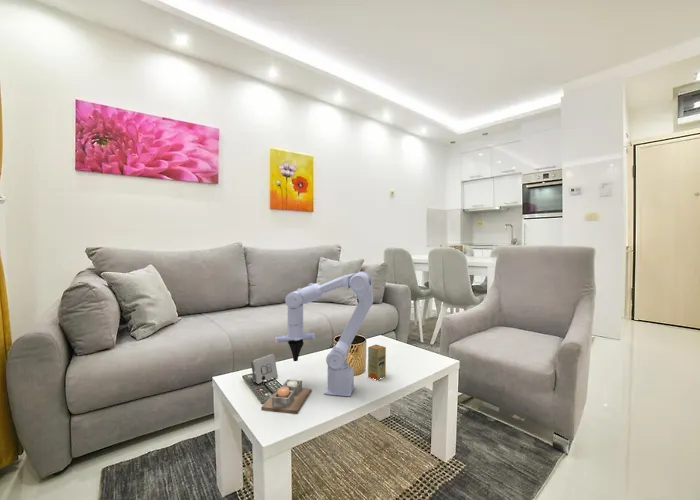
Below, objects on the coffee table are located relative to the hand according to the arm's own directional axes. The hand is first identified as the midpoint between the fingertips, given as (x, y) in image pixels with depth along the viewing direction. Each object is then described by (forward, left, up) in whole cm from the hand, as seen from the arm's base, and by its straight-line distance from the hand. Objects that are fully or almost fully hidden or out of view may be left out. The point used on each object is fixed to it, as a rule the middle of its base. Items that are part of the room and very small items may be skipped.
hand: (295, 360), depth 115 cm
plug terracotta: (-1, +14, -7) cm, 16 cm away
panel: (-1, +10, -10) cm, 14 cm away
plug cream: (-1, +6, -9) cm, 11 cm away
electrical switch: (+14, -3, -10) cm, 18 cm away
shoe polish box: (-29, -14, -10) cm, 34 cm away
